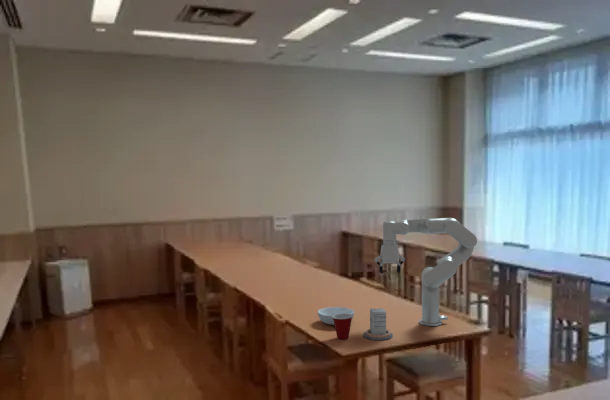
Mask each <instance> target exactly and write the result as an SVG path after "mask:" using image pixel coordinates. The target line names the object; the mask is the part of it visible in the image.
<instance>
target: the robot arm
mask: <svg viewBox="0 0 610 400" xmlns="http://www.w3.org/2000/svg"><path fill="white" fill-rule="evenodd" d="M409 233H421V234H427V235H428V234H429V235H436V234H437V235H438V234H448V235H449V236H450V237H452V238H453V239H454V240H456V242H458V244H457V246H456V247H455V248H454V249H453V250H451V252H449V253H448V254H446V255H445V256H443V257H441V258H440V259H439V260H438V263H437V265H436V266H434V267H431V266H427V267H425V268H424V269H423V270H422V272H421V318H420V319H419V320H418V323H419V324H420V325H423V326H427V327H437V326H441V325H443V324H442V323H443V321H448V319H449V318H448V316H445V315H441V314H440V286H441V285H442V284H443V283H445V282H447V280H450V278H452V277H453V276H454V275H455V274H457V272H458V267H460V266H461V265H462V264H463V263H465V262H466V261H467V260H469V258H470V257H471V256H472V254H473V252H474V250H475V249H474V248H475V246H476V245H477V243H478V238H477V236H476V234H474V233H473V232H472V231H471V230H469V229H468V228H467V227H465V226H464V224H462V223H461V222H460V221H459V220H457V219H456V218H454V217H442V218H441V217H439V218H422V219H421V218H419V219H415V218H414V219H401V220H399V221H394V220H385V221H383V224H382V236H383V237H382V244H381V246H380V247H381V248H380V255H379V256H377V257H375V258H374V261H375V263H376V264H377V265H378V266H379V269H378V270H379V272H380V274H384V271H383V270H384V268H383V267H384V266H383V265H384V264H397V265H396V272H397V274H400V272H401V266H402V265H403V264H404V262H405V260H406V258H405V257H403V256H402V255H400V252H399V246H398V244H400V240H397V235H401V236H404V235H407V234H409ZM400 259H401V261H400ZM379 261H380V262H379Z"/></svg>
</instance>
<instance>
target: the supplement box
mask: <svg viewBox="0 0 610 400" xmlns="http://www.w3.org/2000/svg"><path fill="white" fill-rule="evenodd" d="M369 329H370V332H371V334H373V335H385V334H386V329H387V312H386V310H385V309H384V308H382V307H381V308H380V307H379V308H377V307H376V308H369Z"/></svg>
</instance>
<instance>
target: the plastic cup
mask: <svg viewBox="0 0 610 400" xmlns="http://www.w3.org/2000/svg"><path fill="white" fill-rule="evenodd" d="M352 317H353V318H354V316H353V315H352V314H336V315H333V316H332V318H333V320H334V324H335V325H334V328H335V333H336V337H337V339H338V340H342V341H343V340H348V339H349V337H350V336H349V335H350V332H351V325H352V320H353V318H352Z"/></svg>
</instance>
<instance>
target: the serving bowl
mask: <svg viewBox="0 0 610 400" xmlns="http://www.w3.org/2000/svg"><path fill="white" fill-rule="evenodd" d="M336 314H352V315H353V317H352V319H353V318H354V316H355V311H354V310H353V309H351V308H349V307H343V306H341V307H340V306H331V307H322V308H320V309H318V311H317V315H318V318H319V320H320V321H321V322H323V323H325V324H328V325H330V326H331V325H332V326H335V324H334V320H333V318H332V316H333V315H336Z"/></svg>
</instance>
